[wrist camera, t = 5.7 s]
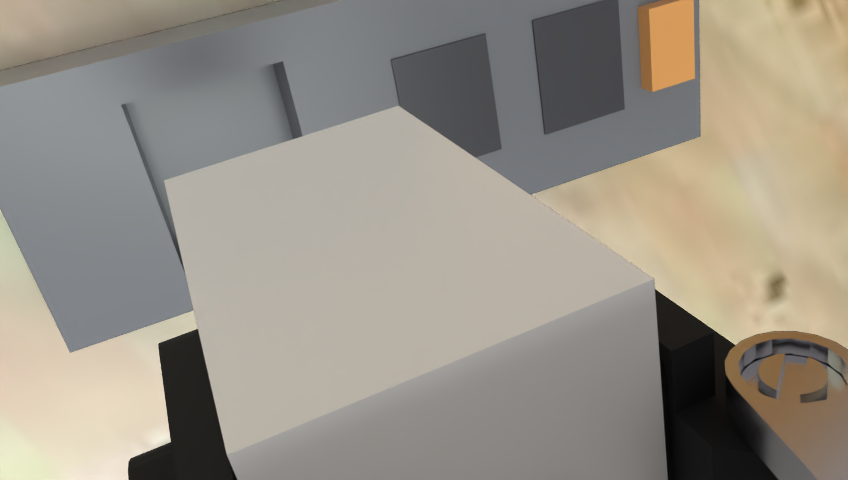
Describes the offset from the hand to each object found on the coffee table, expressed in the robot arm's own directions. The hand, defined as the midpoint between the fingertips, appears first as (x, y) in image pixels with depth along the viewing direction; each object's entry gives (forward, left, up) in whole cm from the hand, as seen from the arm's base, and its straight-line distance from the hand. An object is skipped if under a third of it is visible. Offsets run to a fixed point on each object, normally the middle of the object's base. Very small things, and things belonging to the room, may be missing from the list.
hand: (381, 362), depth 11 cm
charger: (0, 0, -3) cm, 3 cm away
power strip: (-6, +2, -19) cm, 20 cm away
